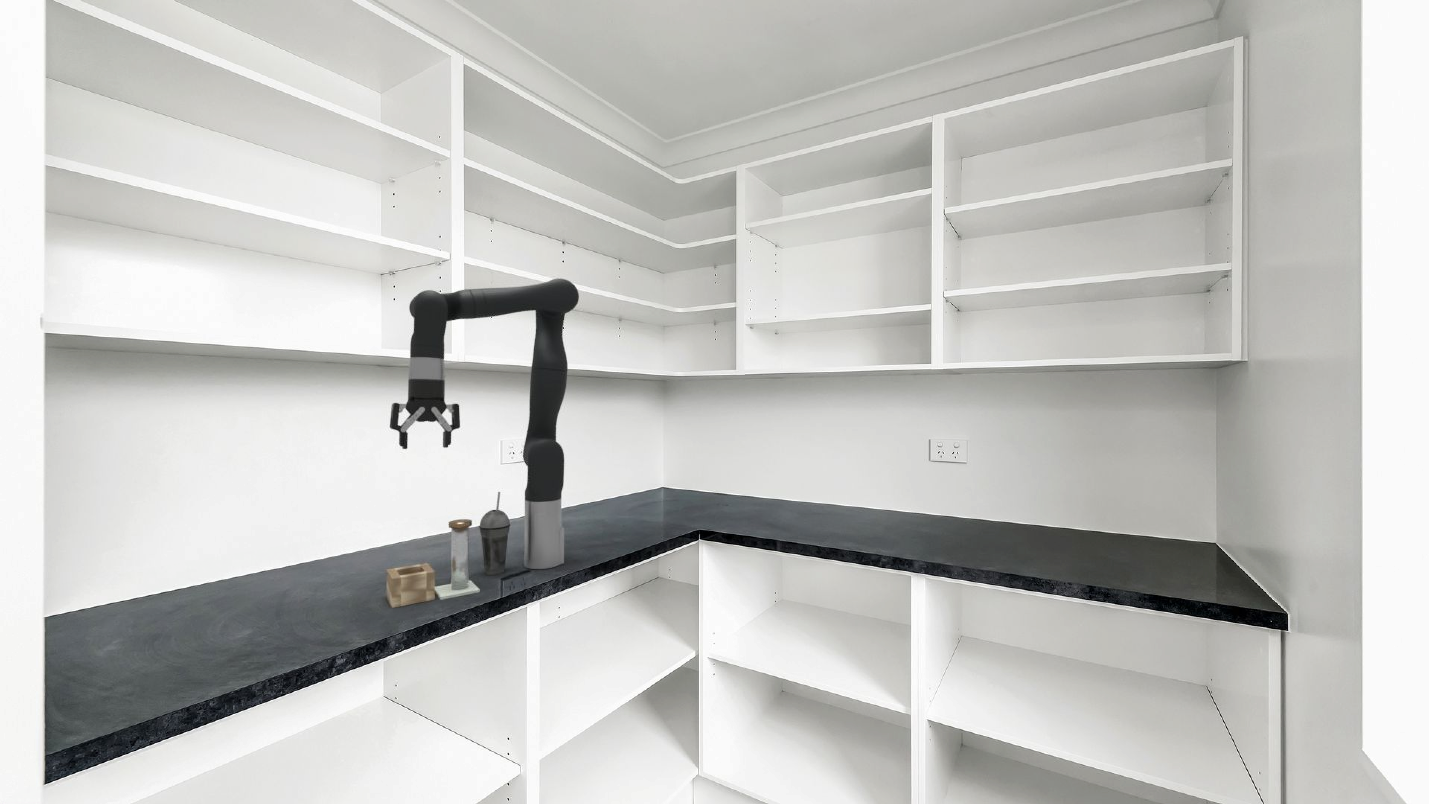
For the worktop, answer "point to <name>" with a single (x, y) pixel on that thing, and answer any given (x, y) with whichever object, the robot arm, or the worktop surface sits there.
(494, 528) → the beverage cup
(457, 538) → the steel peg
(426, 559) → the worktop surface
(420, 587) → the oak eye block
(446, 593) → the sage mat
